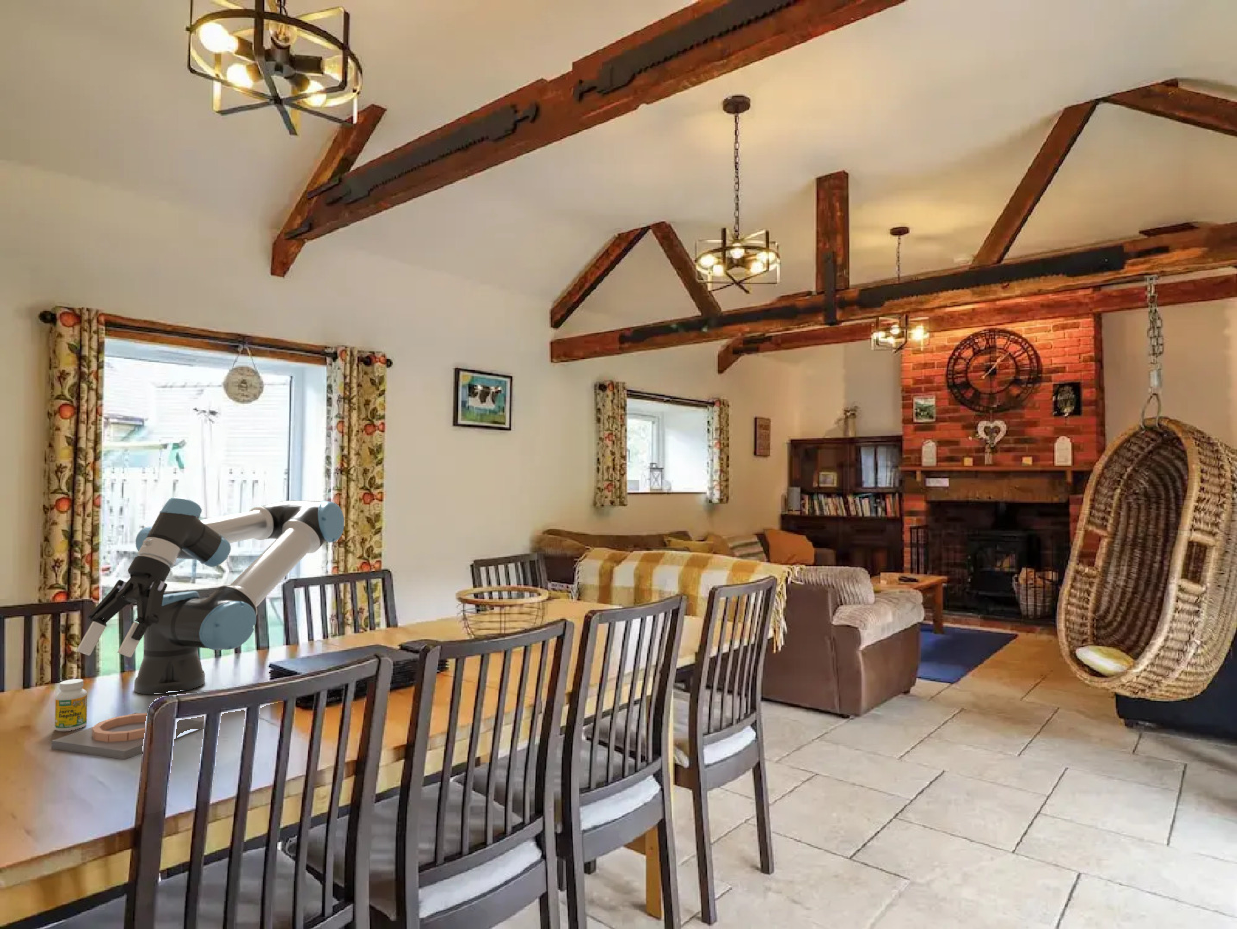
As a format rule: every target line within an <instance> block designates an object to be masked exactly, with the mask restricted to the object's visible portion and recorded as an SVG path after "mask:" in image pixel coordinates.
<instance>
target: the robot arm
mask: <svg viewBox="0 0 1237 929" xmlns="http://www.w3.org/2000/svg"><path fill="white" fill-rule="evenodd" d="M202 510H203V509H202V507H201V506H200V505H199V503H197V502H195V501H194V500H191V499H188V498H185V497H180V496H173V497H171V498H169V499H168V500H167V501H166V503H165V504H164V506H163V507H162V508H161V510H160V511H159V513H158V515H157V518H156V519H155V521H154V523H153V525H152V526H146V527H144V528H142V529H141V530H140V531H139V532H138V533H137V535H136V537H135V548H136V551H137V556H135V557H134V558H133V559H132V562H131V564H130V566H128V570H127V572H128V574H129V575H130V577H129V579H128V580H127V581H125V580H122V579H118V580H117V582H116V583H115V585H114V586H113V588H112V589H111V590H110V591H109V592H108V593H107V595H105V597H104V598H103V599H102V600H101V601H100V602H99V603H97V605H96V607H95V608H93V610H92V611H91V612H90V613H89V614H88V615H87V619H88V620H90V621H91V623H90V625H89V626H88V629H87V630H86V632H85V634H84V636H83V638H82V640H81V641H80V643H79V645H78V647H77V648H76V650H75V651H76V652H79V653H81V654H84V655H86V656H91V654H92V652H93V651H94V649H95V647H96V645H97V644H98V642H99V640H100V638H101V636H102V635H103V633H104V632H105V630H106V628H107V625H108V624H107V623H108V622H109V621H110V620H111V619H112V618H113V617H114V616H116V615H117V614H118V613H119V612H121V610H122V609H123V608H125V607H126V606H127V605H128V606H129V605H132V603H136V611H137V612H136V614H137V617H136V618H135V619H134V621H135V622H133V623H131V626H130V628H129V630H128V631H127V634H126V635H125V638H124V639H123V641H122V643H121V644H120V647H119V648H118V651H117V652H116V653H117V654H120V655H123V656H125V657H127V658H132V656H133V654H134V652H136V649H137V647H138V645H139V643H140V642H141V640H142V638H143V658H142V661H141V664H140V667H139V670H138V673H137V676H136V677H135V678H134V683H133V684H134V686H133V690H134V692H135V693H138V694H140V695H141V694H142V695H155V694H154V693H166V692H168V691H180V690H187V691H190V690H193V688H194V689H197V688H199V687H198V686H200V687H201V686H203V685H204V684H205V683H206V673H205V671H204V670H203V664H202V661H201V659H200V655H199V653H198V649H209V650H212V651H224V650H225V651H226V650H227V651H228V650H229V651H230V650H233V649H234V650H235V649H237V648H239V647H241V646H242V645H244V644H245V643H246V642H247V641H248V640H249V639H250V637H251V636H252V635H253V633H254V631H255V628H254V626H256V624H257V615H258V608H257V607H258V606H259V605H260V604H261V603H263V601H264V600H265V599H266V598H267V597H268V595H269V594H270V593H271V592H272V591H273V590H274V589H275V588H276V587H277V586H278V585H279V583H281V582H282V581H283V579H285V577H286V576H288V574H289V573H290V572H291V571H292V570H293V569H294V568H295V567H296V566H297V564H299V562H301V561H302V559H303V558H304V557H305V556H306V555H307V554H313V553H316V552H317V551H318V550H319V549H320V548H321V547H322V546H323V545H324V544H325V543H334V542H337V541H338V540H339V539H341V536H342V534H343V532H344V529H345V517H344V513H343V510H342V509H341V507H340V506H339V505H338V504H337V503H336V502H333V501H327V500H318V501H317V500H316V501H315V500H295V499H292V500H291V499H290V500H283V501H279V502H275V503H269V504H265V505H261V506H256V507H255V506H254V507H252V508H251V509H249V511H246V512H241V513H234V514H228V515H224V516H218V517H211V518H206V519H200V517H201V514H202ZM252 539H255V540H257V541H264V540H272V539H275V540H274V541H273V542H272V543H271V544H270V545H269V546H268V547H267V548H266V549H265V550H264V551H263V552H262V553H261V554H260V555H259V556H258V557H257V558H256V559H255V560H254V561H252V563H251V564H250V565H249V566H248V567H247V568H246V569H245V570H244V571H243V572H242V573H241V574H240V575H239V576H237V577H236V578H235V579H234V580H233V581H232V582H231V583H230V584H229V585H221V586H219V587H217V588H216V589H215V591H213V592H212V593H211V594H210V595H209V596H208V597H207V598H200V594H199V592H198V591H197V590H193V591H192V590H191V591H181V592H176V593H167V594H165V591H166V589H167V587H168V583H166V582H165V581H166V579H167V578H168V576H169V574H170V572H171V568H172V567H173V566H174V565H175V563H176V561H177V559H181V560H182V559H183V560H195V561H199V563H200V564H202V565H204V566H206V567H209V568H212V567H217V566H220V565H221V564H223V563H224V562H225V561H226V560H227V559H228V558H229V555H230V553H231V550H232V548H231V547H232V545H231V544H233V543H237V542H242V541H246V540H247V541H248V540H252ZM202 684H203V685H202ZM196 687H197V688H196Z"/></svg>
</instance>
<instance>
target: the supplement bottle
mask: <svg viewBox="0 0 1237 929" xmlns="http://www.w3.org/2000/svg"><path fill="white" fill-rule="evenodd" d="M58 687H59V690H60V691H59V692H57V694H56V696H55V701H54V708H55V710H54V712H55V713H54V729H55V730H56V731H57V732H71V730H72V731H75V729H76V730H79V728H80V729H83V728H85V726H87V722H88V718H87V717H88V691H87V690H86V689H84V688H83V687H84V679H82V678H73V679H67V680H63V681H61V682H59V686H58ZM82 727H83V728H82Z"/></svg>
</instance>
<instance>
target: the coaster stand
mask: <svg viewBox="0 0 1237 929" xmlns="http://www.w3.org/2000/svg"><path fill="white" fill-rule="evenodd" d="M147 713H148V712H144V713H142V712H133V713H130V714H126V715H120V716H115V717H112V718H108V719H105V720H102V721H99V722H98V723H96V724H95V725H94V726H91V727H87V728H86V729H83V730H79V731H76V732H74V733H71V734H67V735H64V736H61V737H59V738H55V739H53V740H51V749H53V750H59V751H64V752H65V751H66V752H72V751H73V752H74V753H81V754H86V755H93V756H101V757H107V758H113V759H117V760H118V759H119V760H126V759H129V758H132V757H135V756H137V755H139V754H140V755H141V754H142V753H143V752H142V746H143V739H144V733H145V721H146V716H147ZM184 719H185V720H179V721H178V722H177V729H176V739H175V740H177V739H178V738H177V736H178V735H179V734H180V733H183V732H184V731H187V730H190V729H199V730H198V731H200V730H202V729H204V728H203V727H204V721H203V720H199V719H188V718H184ZM200 728H201V729H200Z"/></svg>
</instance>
